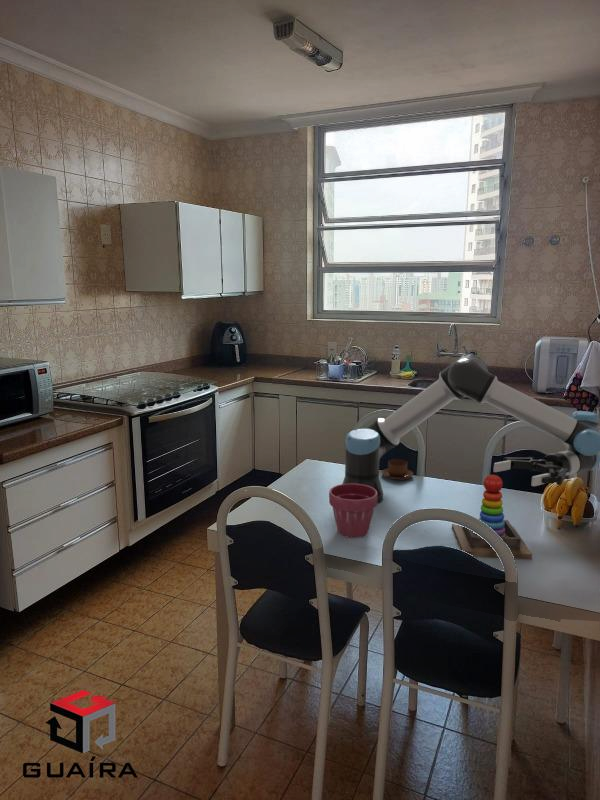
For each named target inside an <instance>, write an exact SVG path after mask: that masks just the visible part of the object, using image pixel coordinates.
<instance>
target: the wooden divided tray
mask: <svg viewBox="0 0 600 800" xmlns="http://www.w3.org/2000/svg"><path fill="white" fill-rule="evenodd" d="M503 520H504V522H505V525H504V528H505V535H506V537H501V538H502V539H503V541H504V542H505V543H506V544H507V545H508V547H509V548H510V550H511V552H512V554H513V556H514V558H515V559H516V560H533V553H532V551H531V550H530V549H529V547H528V546H527V544H526V543H525V541H524V540H523V538H522V536H520V535H521V534H519V533H518V531H517V529H516V528H515V527H514V526H513V525H512V524H511V523H510V521H509V520H508V519H503ZM455 524H456V523H452V524H451V530H452V533H453V532H454V533H453V535H454V537H455V539H456V542H457V545H458V547H459V549H460V551H461V550H463V551H465V552H467V553H469V554H471V555H473V556H475V558H490V559H492V558H494V559H499V558H498V556H497V554H496V552H495V551H494V550H493V549H492V547H490V545H489V544H488V543H487V542H486V541H485V540H484V539H482V538H481V537H480V536H477V535H476V534H475V533H473V531H471V530H469V529H467V528H465V527H462V526H459V525H455Z"/></svg>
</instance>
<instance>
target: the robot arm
mask: <svg viewBox="0 0 600 800" xmlns="http://www.w3.org/2000/svg"><path fill="white" fill-rule="evenodd" d="M438 376H439V377H438V379H437V380H436V381H434V382H433V383H432V384H430V385H429V386H428V387H426V388H425V389H423V390H422V391H420V392H419V393H418V394H417V395H415V396H414V397H413V398H411V399H410V400H408V401H407V402H406V403H404V404H403V405H401V406H400V407H399V408H397V410H395V411H393V412H392V413H391V414H390V415H389V416H388V415H387V416H386V418H384V417H378V418H377V419H376V420H375V421H373V422H372V423H370V424H369V425H367V426H365V427H363V428H357V429H352V430H351V431H349V432H348V433H347V434H346V436H345V442H344V443H345V444H344V446H345V447H344V449H345V450H344V451H345V452H344V453H345V455H344V457H345V458H344V459H345V461H344V463H345V465H344V468H345V469H344V477H343V481H342V483H341V484H351V483H353V484H363V485H367V486H370V487H373V488H374V489H375V490H376V491H377V494H378V501H377V505H378V504H380V503H382V502H383V501H384V491H383V486H382V484H381V481H380V460H381V458H382V457H383V456H384V455H385V454H387V453H388V452H389V451H391V450H392V449H394V448H396V446H398V445H399V444H400V439H401V438H402V437H403V436H404V435H406V434H407V433H409V432H410V431H412V430H413V429H414V428H415V427H416V428H417V426H419V425H420V424H421V423H423V422H424V421H426V420H427V419H428V418H430V417H431V416H433V415H434V414H436V413H437V412H438V411H440V410H441V409H443V408H444V407H445V406H447V405H448V404H450V403H451V402H452V401H455V400H457V401H462V400H463V399H464V398H469V399H470V400H473V401H475V402H477V403H479V404H485V403H486V404H488V405H491V406H492V407H494V408H496V409H498V410H499V411H502V412H504V413H505V414H508V415H510V416H511V417H514V418H515V419H518V420H519V421H522V422H523V423H526V424H528V425H529V426H532V427H534V428H535V429H538V430H539V431H541V432H543V433H545V434H547V435H550V436H551V437H554V438H555V439H557V440H560V441H561V442H564V443H565V444H567V446H568V447H567V448H568V449H567V450H562V451H559V452H554V453H553V452H552V453H548V454H547V455H544V457H543V458H541V459H535V457H533V456H528V457H510V456H509V457H507V456H506V457H503V461H498V462H494V463H493V473H497V472H498V473H499V472H504V471H509V470H511V469H516V470H517V469H519V470H529V471H530V472H538V473H539V474H538V475H533V476H532V477H531V486H532V487H537V486H541V485H546V484H555V483H556V485H557V486H561V485H562V484H563V483H564V482H565V480H566V479H568V478H570V476H571V475H575V474H581V473H586V472H589V471H592V470H594V469H597V467H598V466H600V453H599V452H600V431H599V429H598V426H599V415H598V414H597V413H595V412H592V411H584V410H576V411H574V412H573V413H572V416H569V415H567V414H565V413H564V412H561V411H560V410H557V409H555V408H553V407H552V406H549V405H547V404H545V403H544V402H541V401H539V400H538V399H535V398H533V397H532V396H529V395H527V394H526V393H523V392H521V391H519V390H517V389H515V388H513V387H512V386H510V385H509V386H508V385H507V384H506V383H503V382H501V381H499V380H498V377H497V376H496V375H494V373H493V374H492V373H491V372H489V368H488V365H487V363H486V362H485V360H484V359H483V358H482V357H480V356H478V355H475V354H470V353H469V354H463V355H461V356H459V357H458V358H456V360H455V361H454V362H453V363H451V364H449V365H448V366H447V367H446V368H444V369H442V371H440V372H439V375H438ZM540 473H541V474H540Z"/></svg>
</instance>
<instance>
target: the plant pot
mask: <svg viewBox="0 0 600 800" xmlns="http://www.w3.org/2000/svg"><path fill="white" fill-rule="evenodd" d="M328 497H329V499H328V500H329V505H330V506H331V507H332V511H333V515H334V520H335V525H336V528H337V533H338V534H339V535H341V536H342V537H347V538H353V539H354V538H356V539H357V538H362V537H364V536H366V535H367V534H368V533H369V530H370V526H371V522H372V517H373V514H374V510H375V508H376V507H377V506H378V504H377V501H378V494H377V491H376V490H375V489H374V488H373V487H370V486H367V485H363V484H353V483H351V484H342V483H340V484H337V485H334V486H333V487H331V488H330V489H329V492H328Z"/></svg>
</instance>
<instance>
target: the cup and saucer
mask: <svg viewBox="0 0 600 800" xmlns="http://www.w3.org/2000/svg"><path fill="white" fill-rule="evenodd" d="M381 473H382V475H383V476H384V477H386V478H388V479H392V480H397V481H399V480H401V481H403V480H407V479H410V478H411V477H413V475H414V472H413V471H412V470H411V469H408V461H407V460H404V459H402V458H401V459H400V458H399V459H398V458H393V459H389V460H388V462H387V468H384V469H382V471H381ZM405 475H408V476H406V477H404V476H405Z"/></svg>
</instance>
